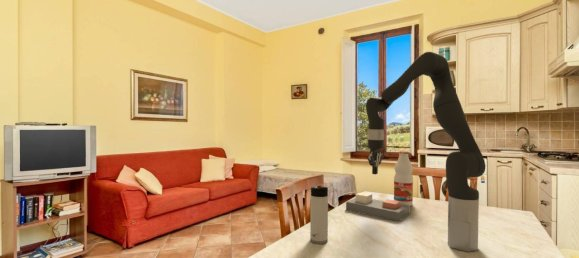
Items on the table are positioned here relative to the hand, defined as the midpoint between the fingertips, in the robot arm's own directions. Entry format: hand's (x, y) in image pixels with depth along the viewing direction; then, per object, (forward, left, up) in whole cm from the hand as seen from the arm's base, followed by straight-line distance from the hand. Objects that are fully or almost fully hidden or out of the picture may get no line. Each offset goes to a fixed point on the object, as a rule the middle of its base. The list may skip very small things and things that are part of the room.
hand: (374, 174), depth 146 cm
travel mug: (-49, -2, -18) cm, 52 cm away
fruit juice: (+22, -6, -18) cm, 29 cm away
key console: (-1, -2, -18) cm, 18 cm away
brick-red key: (-1, -9, -16) cm, 18 cm away
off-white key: (-1, +5, -15) cm, 16 cm away
